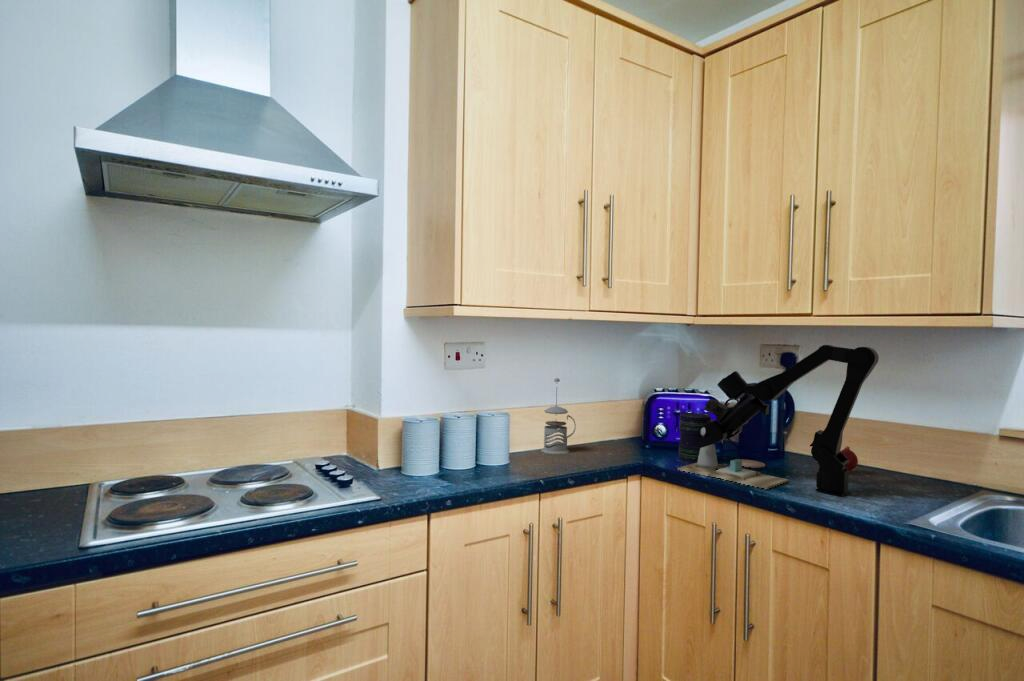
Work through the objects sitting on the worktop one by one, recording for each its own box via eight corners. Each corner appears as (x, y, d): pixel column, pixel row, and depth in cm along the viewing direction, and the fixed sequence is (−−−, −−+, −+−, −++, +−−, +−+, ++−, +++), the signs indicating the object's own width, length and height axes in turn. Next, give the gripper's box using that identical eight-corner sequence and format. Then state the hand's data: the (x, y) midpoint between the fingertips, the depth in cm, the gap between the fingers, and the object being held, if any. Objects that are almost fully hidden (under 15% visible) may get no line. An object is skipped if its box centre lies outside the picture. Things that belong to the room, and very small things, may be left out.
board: (788, 482, 162) (788, 476, 162) (767, 489, 153) (767, 483, 153) (700, 464, 182) (700, 459, 182) (677, 470, 173) (677, 464, 173)
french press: (541, 447, 203) (543, 376, 203) (574, 448, 202) (576, 377, 202) (540, 453, 194) (541, 378, 193) (575, 454, 192) (576, 379, 192)
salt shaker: (710, 474, 169) (712, 430, 169) (693, 470, 173) (694, 427, 173) (721, 471, 173) (722, 428, 173) (703, 467, 177) (704, 425, 177)
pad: (770, 465, 183) (770, 463, 183) (755, 469, 177) (755, 468, 177) (740, 459, 191) (740, 458, 191) (725, 463, 184) (725, 462, 184)
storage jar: (673, 460, 186) (674, 414, 186) (686, 456, 194) (687, 412, 194) (702, 466, 180) (704, 418, 180) (715, 461, 187) (716, 415, 187)
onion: (856, 475, 171) (856, 449, 171) (834, 472, 175) (834, 446, 175) (858, 472, 176) (859, 446, 176) (837, 469, 179) (837, 443, 179)
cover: (755, 474, 166) (756, 460, 166) (742, 479, 161) (743, 464, 161) (729, 469, 172) (730, 456, 172) (715, 473, 167) (716, 459, 167)
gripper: (732, 389, 178) (696, 420, 185) (711, 393, 163) (673, 427, 170) (758, 417, 173) (720, 448, 180) (739, 424, 158) (698, 458, 165)
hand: (703, 445), depth 174 cm, fingers open, 8 cm apart
